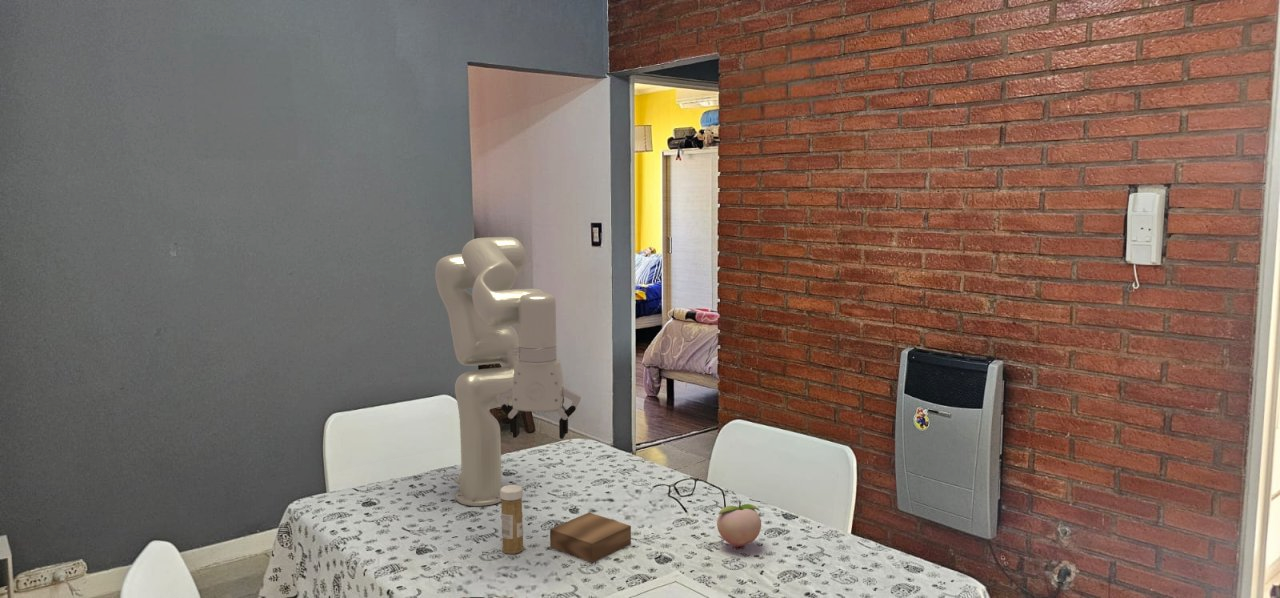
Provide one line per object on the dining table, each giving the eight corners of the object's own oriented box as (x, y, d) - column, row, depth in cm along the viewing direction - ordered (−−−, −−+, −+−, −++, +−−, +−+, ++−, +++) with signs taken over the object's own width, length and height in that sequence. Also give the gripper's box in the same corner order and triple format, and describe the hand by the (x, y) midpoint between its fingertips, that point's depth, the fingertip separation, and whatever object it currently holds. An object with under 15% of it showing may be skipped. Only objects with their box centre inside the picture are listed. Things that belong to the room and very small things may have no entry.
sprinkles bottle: (527, 551, 176) (526, 488, 174) (507, 556, 173) (505, 493, 171) (517, 543, 179) (516, 482, 178) (498, 548, 177) (496, 486, 175)
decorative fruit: (732, 559, 171) (732, 512, 170) (710, 545, 179) (711, 499, 177) (770, 550, 176) (771, 504, 174) (747, 536, 183) (748, 492, 182)
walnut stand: (550, 547, 178) (550, 528, 177) (589, 529, 187) (589, 512, 186) (592, 562, 170) (592, 543, 170) (630, 543, 179) (630, 525, 179)
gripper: (491, 357, 169) (493, 440, 171) (577, 358, 167) (578, 442, 169) (500, 350, 176) (502, 430, 178) (583, 351, 175) (583, 432, 177)
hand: (539, 436), depth 174 cm, fingers open, 9 cm apart
